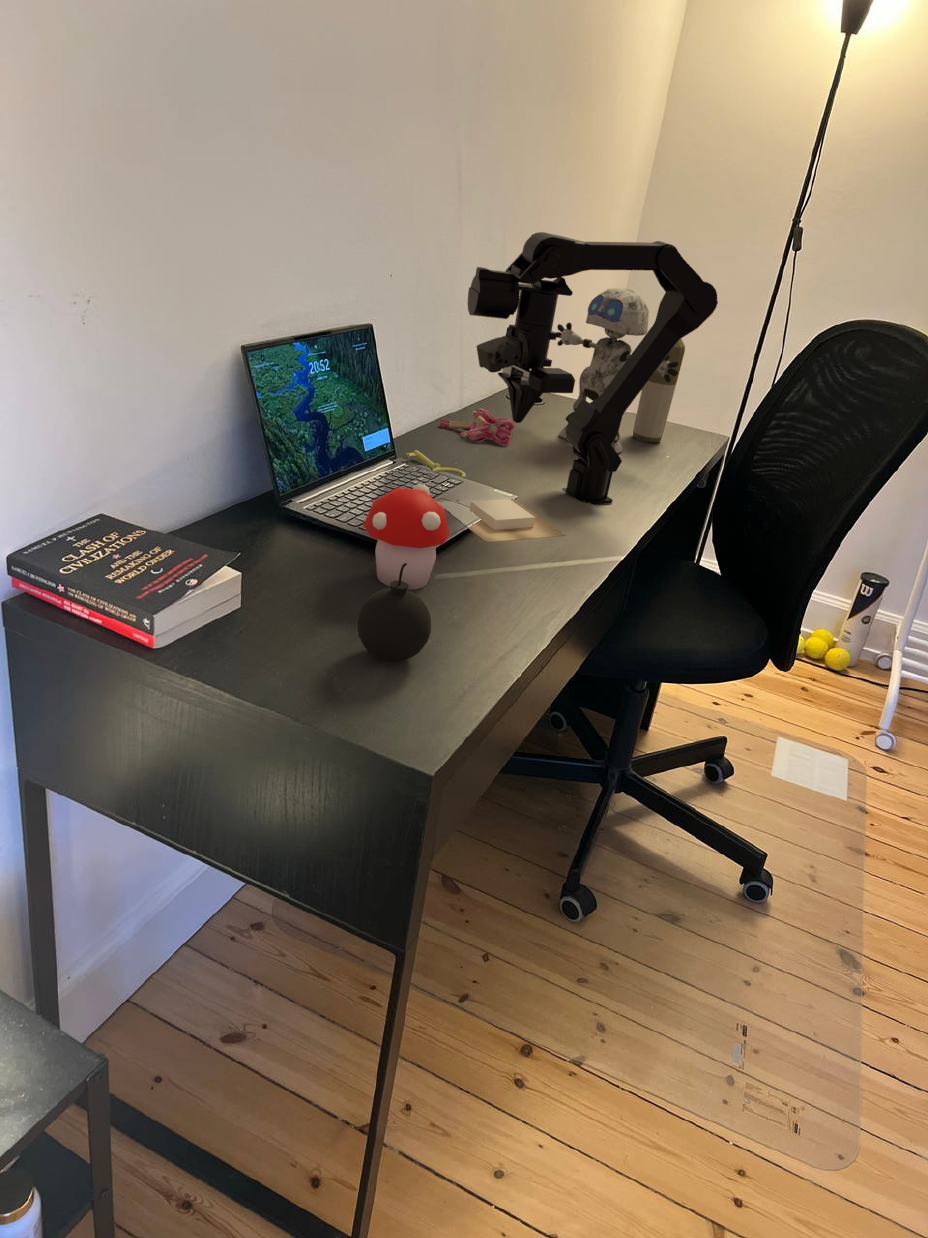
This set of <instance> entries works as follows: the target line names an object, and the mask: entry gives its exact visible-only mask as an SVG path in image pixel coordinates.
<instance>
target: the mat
mask: <svg viewBox="0 0 928 1238" xmlns="http://www.w3.org/2000/svg"><path fill="white" fill-rule="evenodd" d="M511 498H512V499H511V501H513V502H514V503H516V504H517V505H519V506H520V507H521V508H523V509H524V510H526V511H527V512H529V513H530V514H531V515H533V516H534V517H535V522H534V527H529V528H517V529H504V530H493V529H492V528H491V527H489V526H488V525H487V524H485V523H484V522H483V521H481V520H480V521H479V522H477V523H475V524H472V526H471V527H469V528H468V530H470V531H471V532H472V533H474V534H475V535H476V536H478V537H479V538H480V539H481V540H482V541H483V542H485V543H494V542H496V543H497V542H506V541H507V542H509V541H517V540H530V539H542V538H553V537H565V536H567V535H566V534H565V533H563V532H562V531H561V530H559V529H558V528H556V527H555V526H553V525H552V524H550V523H549V522H548V521H546V520H544V518H541V516H539V515H537V513H536V514H535V513H534V512H533V511H532V510H530V509H528V508H527V507H526V506H524V505H522V504H521V503H520V502H518V501H517V500H516V499H515V498H513V497H511Z"/></svg>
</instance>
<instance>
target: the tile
mask: <svg viewBox="0 0 928 1238" xmlns="http://www.w3.org/2000/svg"><path fill="white" fill-rule="evenodd" d="M469 510H470V511H471V512H473V513H474V514H475V515H476V516H478V517H479V518H480V519H481V521H483V522H484V523H485V524H487V525H488V526H489V527H491V528H492V529H493V530H504V529H517V528H529V527H534V522H535V517H534V516H533V515H531V514H530V513H529V512H527V511H526V510H524V509H523V508H521V507H520V506H519V505H517V504H516V503H514V502H513V501H511V500H510V499H502V500H485V501H471V502H470V509H469Z"/></svg>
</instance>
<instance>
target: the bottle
mask: <svg viewBox="0 0 928 1238" xmlns="http://www.w3.org/2000/svg"><path fill="white" fill-rule="evenodd" d="M685 349H686V346H685V342H684V341H683V338H681V339H680V340H679V341H678V342H677V343H676V345H675V346H674V347H673V349H672V350H671V351H670V353H669V355H670V358H669V359H668V361H669V362H673V361H678V363H679V365H678V366H677V367H673V368H671V369H674V370H677V371H678V374H677V375H676V376H672V375H670V374H669V376H670V378H671V381H670V382H666V381H665V378H664V377H661V376H658V375H657V373H654V374H653V375H652V377H651V378H650V379H649V380H648V382H647V383H646V384H645V386H644V387H643V388H642V390H641V391H640V398H639V401H638V406H637V411H636V414H635V421H634V425H633V430H632V436H633V437H634V438H636V439H637V440H639V439H640V440H639V441H641V440H643V441H642V442H645V441H647V442H646V443H657V442H661V441H662V438H663V435H664V431H665V428H666V425H667V424H666V423H667V420H668V418H669V417H668V416H669V413H670V409H671V405H672V401H673V398H674V394H675V391H676V390H675V389H676V386H677V382H678V380H679V379H678V378H679V375H680V370H681V367H682V364H683V359H684V356H685V352H686V350H685Z"/></svg>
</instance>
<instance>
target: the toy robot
mask: <svg viewBox="0 0 928 1238" xmlns="http://www.w3.org/2000/svg"><path fill="white" fill-rule="evenodd" d="M649 311H650V310H649V308H648V306H647V304H646V302H645V300H644V298H643V297H642V296H641V295H639V294H638V293H636V291H634V290H631V289H629V288H624V287H622V288H621V287H617V288H615V287H614V288H613V287H612V288H607V289H605V290H604V291H602V292H600V293H599V294H597V295H596V296H595V297H594V298H593V299H591V301H590V303H589V304H588V307H587V316H586V320H585V323H586V324H587V325H593V326H597V327H600V328H603V329H604V332H605V333H604V334H605V335H606V337H603V338H600V339H599V340H598V341H596V343H595V342H593V340H592V339H589V338H584V339H582V337H581V335H579V334H578V333H576V332H574V330H572V327H573V325H572V323H571V322H567V323H566V325H565V327H566V328H565V327H564V326H563V324H561V323H558V324H557V327H556V328H557V330H558V331H556V332H555V333H557V336H556V339H560V340H558V341H557V343H556V344H557V345H558V347H561V346H562V345H564V346H565V345H566V346H570V345H571V346H577V345H582V347H583V348H585V349H591V348H592V349H594V350H593V354H592V358H591V361H590V364H589V365H588V366H587V367H585V368H584V369H583V370H582V372H581V374H580V376H579V380H578V381H579V383H578V384H579V385H578V386H579V389H578V390H579V392H578V393H579V394H578V397H577V398H576V400H575V401H574V402H573V405H572V408H573V411H572V412H571V413H569V414H568V415H567V416H566V417H565V421H566V422H567V424H566V425H565V426H564V427H563V428H561V430H560V431H559V433H558V435H559V436H560V437H561V439H564V440H567V438H566V426H567V425H568V423H569V421H570V420H568V417H569V416H570V415H572V414H573V413H574V412H575V410H576V409H577V407H578V405H579V403H580V402H581V400H582V399H585V400H586V401H587V398H588V399H589V400H591V402H592V401H594V400H596V399H597V398H599V397H600V396H601V395H602V393H603V392H604V391H605V389H606V388H607V387H608V385H609V384H610V383H611V381H612V380H613V378H614V377H615V376H616V374H617V373H618V372H619V370H620V369H621V368H622V366H623V365H624V364H625V362H626V361H627V360H628V358H629V357H630V355H631V354H632V346H631V345H630V344H629V343H627V342H626V341H624V340H623V339H621V338H624V337H625V336H645V335H646V334H647V333H648V331H649V330H648V327H649V316H650V315H649V313H650V312H649ZM669 358H670V355H669V354H668V355H667V357H666V358H665V359H664V361H663V362H662V363H661V365H660V366H659V367H658V369H657V370H656V371H655V373H657V375H658V376H661V377H664V378H665V381H666V382H670V381H671V378H670V376H669V374H670V375H672V376H676V375H677V374H678V371H677V370H674V369H671V368H673V367H677V366H678V365H679V363H678V361H673V362H669V361H668V359H669ZM620 435H621V434H620V432H618V434H617V436H616V438H615V440H614V442H613V444H612V447H613V448H614V450H615V451H616V453H617V454H618V455H619V454H620V453H621V452H622V451H623V446H622V443H621V441H620V438H621V436H620ZM567 441H568V440H567Z"/></svg>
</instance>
